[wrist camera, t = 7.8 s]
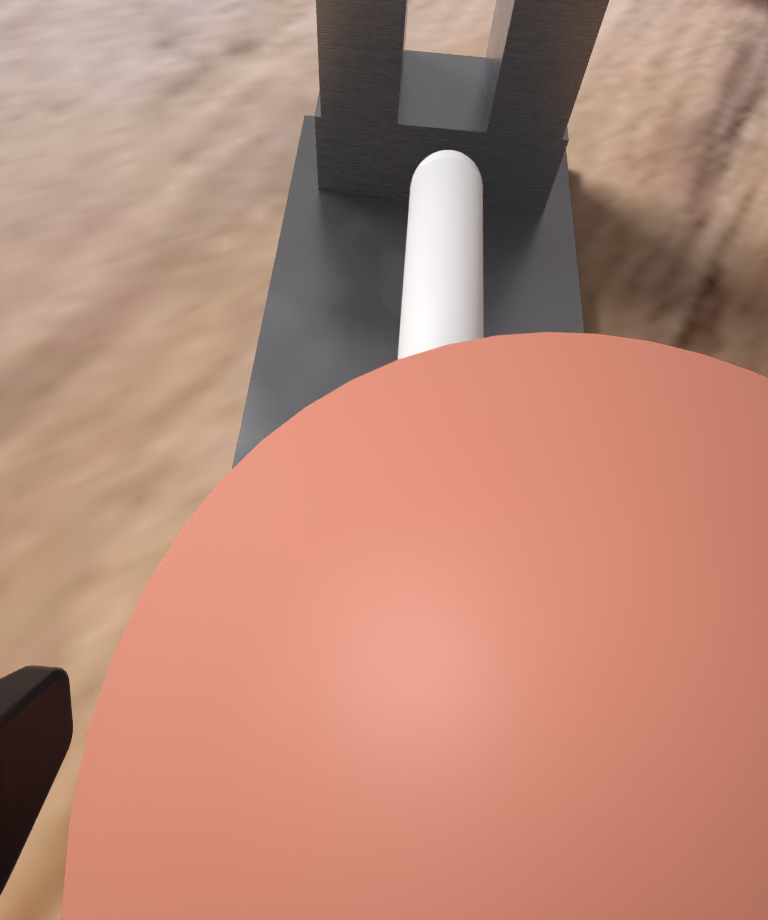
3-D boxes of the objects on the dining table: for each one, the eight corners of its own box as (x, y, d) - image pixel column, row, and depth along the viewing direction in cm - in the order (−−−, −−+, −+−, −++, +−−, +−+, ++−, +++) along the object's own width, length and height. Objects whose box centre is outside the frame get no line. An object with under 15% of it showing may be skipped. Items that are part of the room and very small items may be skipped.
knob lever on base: (509, 907, 12) (1704, 1908, 1) (286, 891, 12) (-194, 1797, 1) (497, 289, 19) (677, -298, 9) (359, 276, 19) (372, -330, 9)
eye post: (627, 949, 13) (1237, 1334, 4) (153, 912, 13) (-290, 1230, 4) (557, 162, 24) (676, -187, 16) (306, 139, 24) (281, -228, 15)
